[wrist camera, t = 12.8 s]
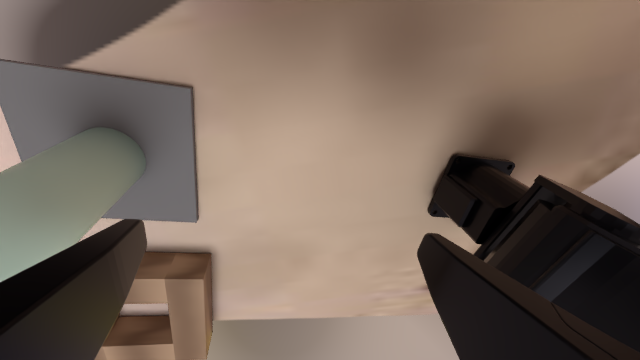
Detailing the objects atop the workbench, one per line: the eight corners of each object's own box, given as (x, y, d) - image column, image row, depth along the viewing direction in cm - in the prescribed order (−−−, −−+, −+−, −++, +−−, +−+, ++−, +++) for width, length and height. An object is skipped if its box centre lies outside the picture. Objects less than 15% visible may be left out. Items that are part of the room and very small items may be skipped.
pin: (156, 150, 19) (-25, 320, 8) (132, 193, 20) (-53, 395, 9) (87, 114, 17) (-285, 266, 6) (65, 164, 18) (-271, 368, 7)
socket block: (211, 253, 25) (203, 279, 22) (212, 331, 30) (206, 359, 27) (60, 249, 22) (32, 278, 20) (92, 335, 28) (72, 366, 25)
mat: (192, 87, 18) (190, 89, 17) (198, 218, 23) (196, 222, 22) (-10, 57, 15) (-18, 58, 15) (46, 211, 20) (41, 214, 20)
